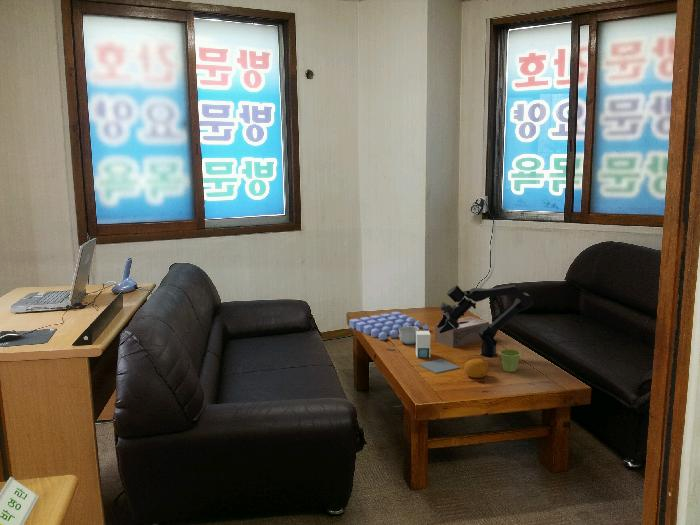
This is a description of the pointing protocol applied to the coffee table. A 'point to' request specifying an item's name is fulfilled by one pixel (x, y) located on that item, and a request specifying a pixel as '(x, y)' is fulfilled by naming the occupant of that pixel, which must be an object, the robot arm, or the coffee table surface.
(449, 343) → the tissue box cover
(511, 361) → the plant pot
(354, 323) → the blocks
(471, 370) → the fruit
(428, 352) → the tall white pillar
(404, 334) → the teacup
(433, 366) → the mat
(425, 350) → the block
